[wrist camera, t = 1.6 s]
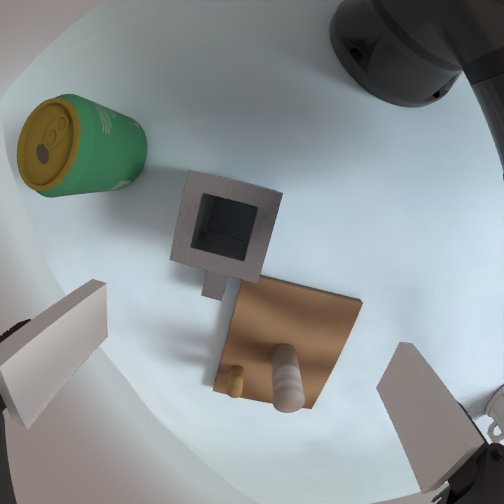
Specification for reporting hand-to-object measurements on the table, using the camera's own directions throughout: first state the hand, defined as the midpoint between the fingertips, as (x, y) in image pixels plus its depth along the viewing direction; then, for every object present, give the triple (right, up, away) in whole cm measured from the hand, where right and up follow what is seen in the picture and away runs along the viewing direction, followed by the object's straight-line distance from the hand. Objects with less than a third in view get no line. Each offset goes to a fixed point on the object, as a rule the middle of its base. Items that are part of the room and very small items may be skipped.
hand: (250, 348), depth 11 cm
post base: (+4, -7, +20) cm, 21 cm away
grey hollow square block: (-2, +5, +17) cm, 18 cm away
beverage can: (-14, +14, +15) cm, 25 cm away
